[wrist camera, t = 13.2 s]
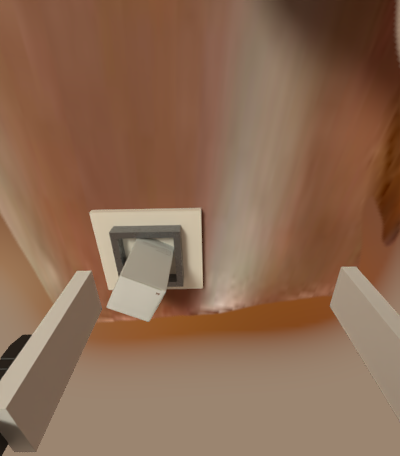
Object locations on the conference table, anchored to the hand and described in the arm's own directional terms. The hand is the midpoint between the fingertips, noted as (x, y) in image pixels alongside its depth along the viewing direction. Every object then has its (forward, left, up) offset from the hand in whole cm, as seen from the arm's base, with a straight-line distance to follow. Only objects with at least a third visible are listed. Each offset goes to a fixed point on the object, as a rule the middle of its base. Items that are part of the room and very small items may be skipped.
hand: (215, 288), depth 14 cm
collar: (+18, -11, -30) cm, 37 cm away
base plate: (+18, -11, -32) cm, 38 cm away
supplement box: (+18, -11, -31) cm, 37 cm away
